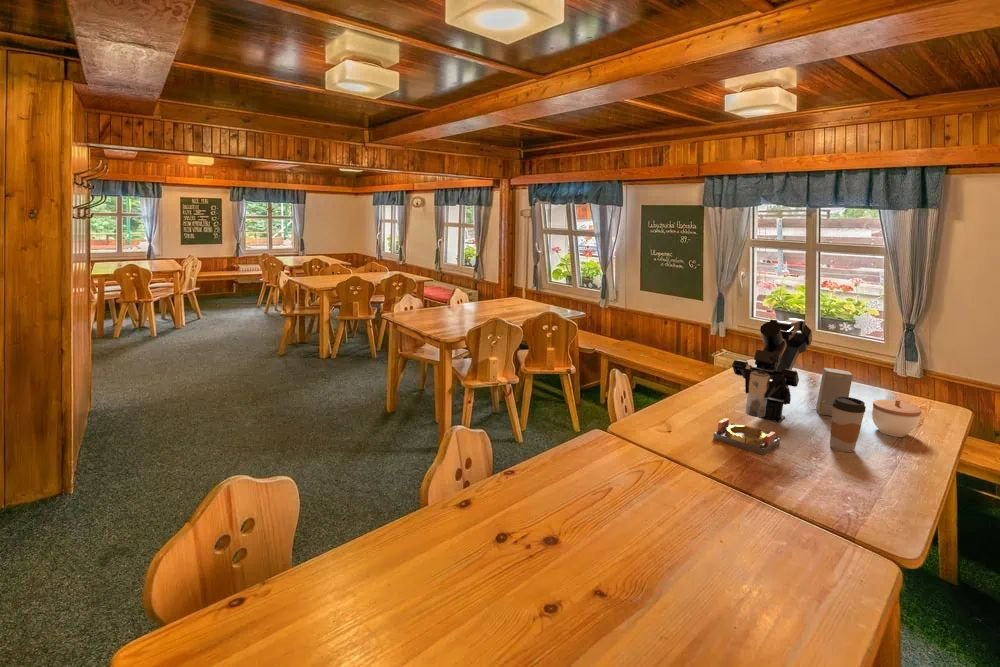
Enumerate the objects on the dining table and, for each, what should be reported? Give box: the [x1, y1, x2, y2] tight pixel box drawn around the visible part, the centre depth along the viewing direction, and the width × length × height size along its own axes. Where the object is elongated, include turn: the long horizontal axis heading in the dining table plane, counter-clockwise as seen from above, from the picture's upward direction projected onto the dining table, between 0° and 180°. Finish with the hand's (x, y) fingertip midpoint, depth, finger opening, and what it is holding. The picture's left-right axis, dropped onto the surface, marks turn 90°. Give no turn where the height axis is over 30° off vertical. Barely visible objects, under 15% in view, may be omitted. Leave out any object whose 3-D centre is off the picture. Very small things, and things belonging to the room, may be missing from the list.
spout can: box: [745, 371, 770, 418], centre depth 166 cm, size 8×6×14 cm, turn 137°
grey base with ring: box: [712, 417, 781, 456], centre depth 163 cm, size 12×15×5 cm
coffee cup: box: [829, 397, 866, 453], centre depth 159 cm, size 8×8×15 cm
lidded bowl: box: [871, 399, 922, 438], centre depth 173 cm, size 13×13×11 cm
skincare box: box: [815, 367, 854, 417], centre depth 188 cm, size 8×7×16 cm
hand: (756, 395), depth 166 cm, fingers closed on spout can, 6 cm apart
